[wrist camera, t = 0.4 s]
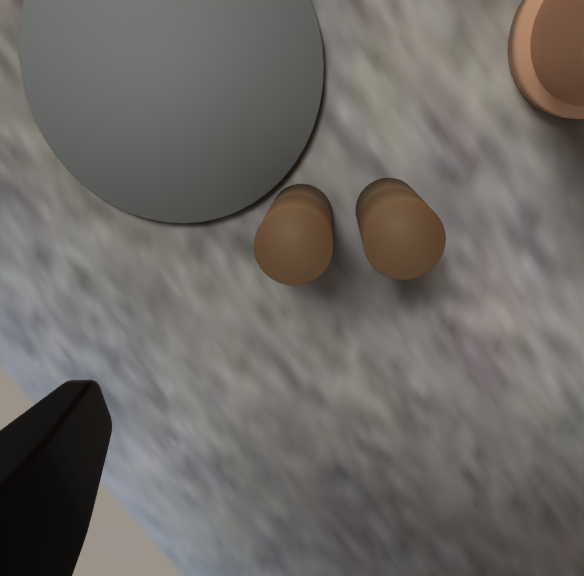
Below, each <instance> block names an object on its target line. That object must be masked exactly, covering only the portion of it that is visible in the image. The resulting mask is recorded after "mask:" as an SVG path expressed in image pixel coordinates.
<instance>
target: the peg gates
mask: <svg viewBox="0 0 584 576" xmlns="http://www.w3.org/2000/svg"><path fill="white" fill-rule="evenodd" d="M356 217H357V221H358V225H359V230H360V234H361V238H362V242H363V247H364V251H365V254H366V257H367V259H368V261H369V263H370V264H371V265H372V267H373V268H374V269H375V270H377V271H378V272H379V273H381V274H382V275H384V276H386V277H389V278H392V279H397V280H408V279H413V278H416V277H419V276H421V275H423V274H425V273H427V272H428V271H429V270H431V269H432V268H433V267H434V266H435V265H436V264H437V262H438V261H439V259H440V258H441V256H442V253H443V251H444V247H445V241H446V238H445V230H444V226H443V224H442V222H441V220H440V218H439V217H438V216H437V214H436V213H435V212H434V211H433V210H432V209H431V208H430V207H429V206H428V205H427V204H426V203H425V202H424V201H423V200H422V199H421V198H420V196H419V195H418V194H417V193H416V192H415V191H414V190H413V189H412V188H411V187H410V186H409V185H408V184H406V183H405V182H403V181H401V180H398V179H394V178H383V179H379V180H376V181H374V182H372V183H371V184H369V185H368V186H367V187H366V188H365V189H364V190H363V191H362V192H361V194H360V196H359V198H358V200H357V204H356ZM332 253H333V226H332V208H331V205H330V202H329V200H328V198H327V197H326V196H325V194H324V193H323V192H322V191H320V190H319V189H317V188H316V187H314V186H311V185H307V184H296V185H292V186H289V187H287V188H285V189H284V190H282V191H281V192H280V193H279V194H278V195H277V197H276V198H275V200H274V202H273V203H272V205H271V207H270V209H269V210H268V212H267V214H266V216H265V218H264V219H263V221H262V223H261V225H260V226H259V228H258V230H257V232H256V235H255V239H254V254H255V257H256V260H257V263H258V264H259V266H260V268H261V269H262V270H263V272H264V273H265V274H266V275H267V276H269V277H270V278H271V279H273V280H275V281H277V282H279V283H282V284H286V285H302V284H306V283H309V282H311V281H313V280H315V279H317V278H318V277H319V276H320V275H322V273H323V272H324V271H325V270H326V268H327V267H328V265H329V263H330V261H331V258H332Z"/></svg>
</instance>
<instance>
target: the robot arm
mask: <svg viewBox="0 0 584 576" xmlns="http://www.w3.org/2000/svg"><path fill="white" fill-rule="evenodd" d="M111 432H112V421H111V416H110V413H109V411H108V408H107V405H106V402H105V400H104V397H103V394H102V391H101V388H100V386H99V384H98V383H97V382H96V381H93V380H70V381H67V382H65V383H64V384H62V385H61V386H59V387H58V388H57V389H55V390H54V391H53V392H51V393H50V394H49V395H47V396H46V397H45V398H43V399H42V400H41V401H39V402H38V403H36V404H35V405H34V406H32V407H31V408H30V409H28V410H27V411H26V412H25V413H23V414H22V415H20V416H19V417H18V418H16V419H15V420H14V421H12V422H11V423H10V424H8V425H7V426H6V427H4V428H3V429H2V430H0V576H72V574H73V571H74V569H75V566H76V563H77V560H78V557H79V555H80V552H81V549H82V546H83V543H84V540H85V537H86V534H87V531H88V527H89V523H90V520H91V516H92V512H93V508H94V504H95V500H96V496H97V491H98V487H99V483H100V479H101V475H102V471H103V466H104V462H105V458H106V454H107V450H108V446H109V441H110V437H111Z"/></svg>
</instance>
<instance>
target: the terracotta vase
mask: <svg viewBox="0 0 584 576" xmlns="http://www.w3.org/2000/svg"><path fill="white" fill-rule="evenodd" d="M508 59H509V66H510V70H511V74H512V76H513V79H514V82H515V84H516V85H517V87H518V89H519V91H520V92H521V93H522V95H523V96H524V97H525V98H526V99H527V100H528V101H529V102H530V103H531V104H532V105H533V106H535V107H536V108H538V109H539V110H541V111H543V112H545V113H547V114H550V115H553V116H556V117H561V118H569V119H584V0H522V2H521V3H520V5H519V7H518V9H517V11H516V14H515V16H514V19H513V22H512V25H511V29H510V34H509V40H508Z"/></svg>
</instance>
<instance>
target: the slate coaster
mask: <svg viewBox="0 0 584 576" xmlns="http://www.w3.org/2000/svg"><path fill="white" fill-rule="evenodd" d="M19 59H20V67H21V74H22V80H23V84H24V88H25V92H26V96H27V100H28V103H29V105H30V108H31V111H32V113H33V116H34V119H35V121H36V123H37V125H38V127H39V129H40V131H41V133H42V135H43V137H44V138H45V140H46V142H47V143H48V145H49V146H50V148H51V149H52V151H53V152H54V154H55V155H56V156H57V158H58V159H59V160H60V161H61V163H62V164H63V165H64V166H65V167H66V169H67V170H68V171H69V172H70V173H71V174H72V175H73V176H74V177H75V178H76V179H77V180H78V181H79V182H80V183H81V184H82V185H84V186H85V187H86V188H88V189H89V190H90V191H92V192H93V193H94V194H95V195H97V196H98V197H100V198H101V199H103V200H105V201H106V202H108V203H110V204H111V205H113V206H115V207H117V208H119V209H122V210H124V211H126V212H128V213H131V214H133V215H137V216H140V217H143V218H147V219H150V220H156V221H162V222H168V223H194V222H204V221H208V220H213V219H217V218H221V217H224V216H227V215H229V214H232V213H235V212H238V211H239V210H241V209H243V208H245V207H247V206H249V205H251V204H253V203H254V202H256V201H257V200H258V199H260V198H261V197H263V196H264V195H265V194H267V193H268V192H269V191H270V190H271V189H272V188H273V187H275V186H276V185H277V184H278V183H279V182H280V181H281V180H282V179H283V178H284V176H285V175H286V174H287V173H288V171H289V170H290V169H291V168H292V166H293V165H294V164H295V162H296V161H297V159H298V157H299V156H300V154H301V152H302V151H303V149H304V147H305V146H306V143H307V141H308V139H309V137H310V134H311V132H312V130H313V128H314V124H315V121H316V118H317V114H318V111H319V107H320V101H321V95H322V89H323V72H324V62H323V49H322V40H321V35H320V30H319V25H318V20H317V17H316V14H315V11H314V8H313V5H312V2H311V0H24V4H23V8H22V12H21V20H20V29H19Z"/></svg>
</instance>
